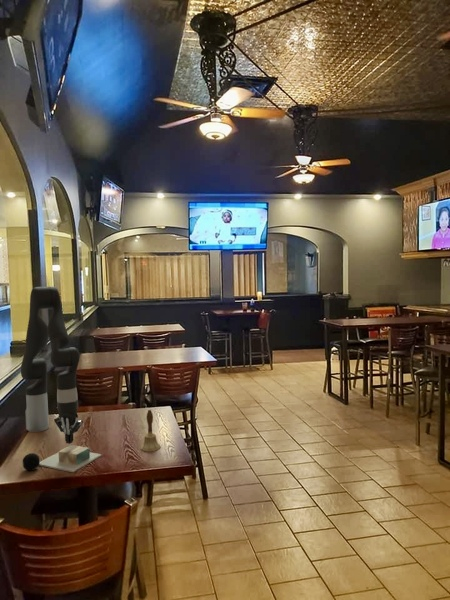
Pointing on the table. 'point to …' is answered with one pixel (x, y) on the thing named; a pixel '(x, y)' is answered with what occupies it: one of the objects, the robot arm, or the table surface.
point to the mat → (54, 463)
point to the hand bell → (150, 436)
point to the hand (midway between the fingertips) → (69, 442)
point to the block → (74, 454)
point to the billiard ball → (31, 461)
